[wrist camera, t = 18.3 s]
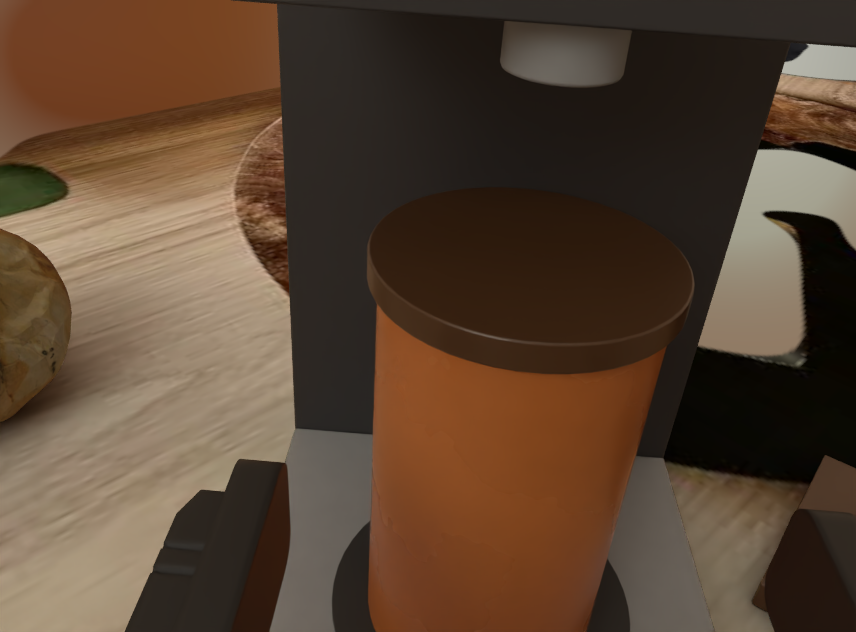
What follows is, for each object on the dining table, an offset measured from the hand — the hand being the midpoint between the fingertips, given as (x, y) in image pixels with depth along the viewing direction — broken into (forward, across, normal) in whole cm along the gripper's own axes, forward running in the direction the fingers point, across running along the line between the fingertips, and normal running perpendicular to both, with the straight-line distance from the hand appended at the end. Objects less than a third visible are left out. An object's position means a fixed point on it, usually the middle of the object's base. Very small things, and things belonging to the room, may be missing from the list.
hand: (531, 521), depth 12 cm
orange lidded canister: (+4, 0, +7) cm, 8 cm away
